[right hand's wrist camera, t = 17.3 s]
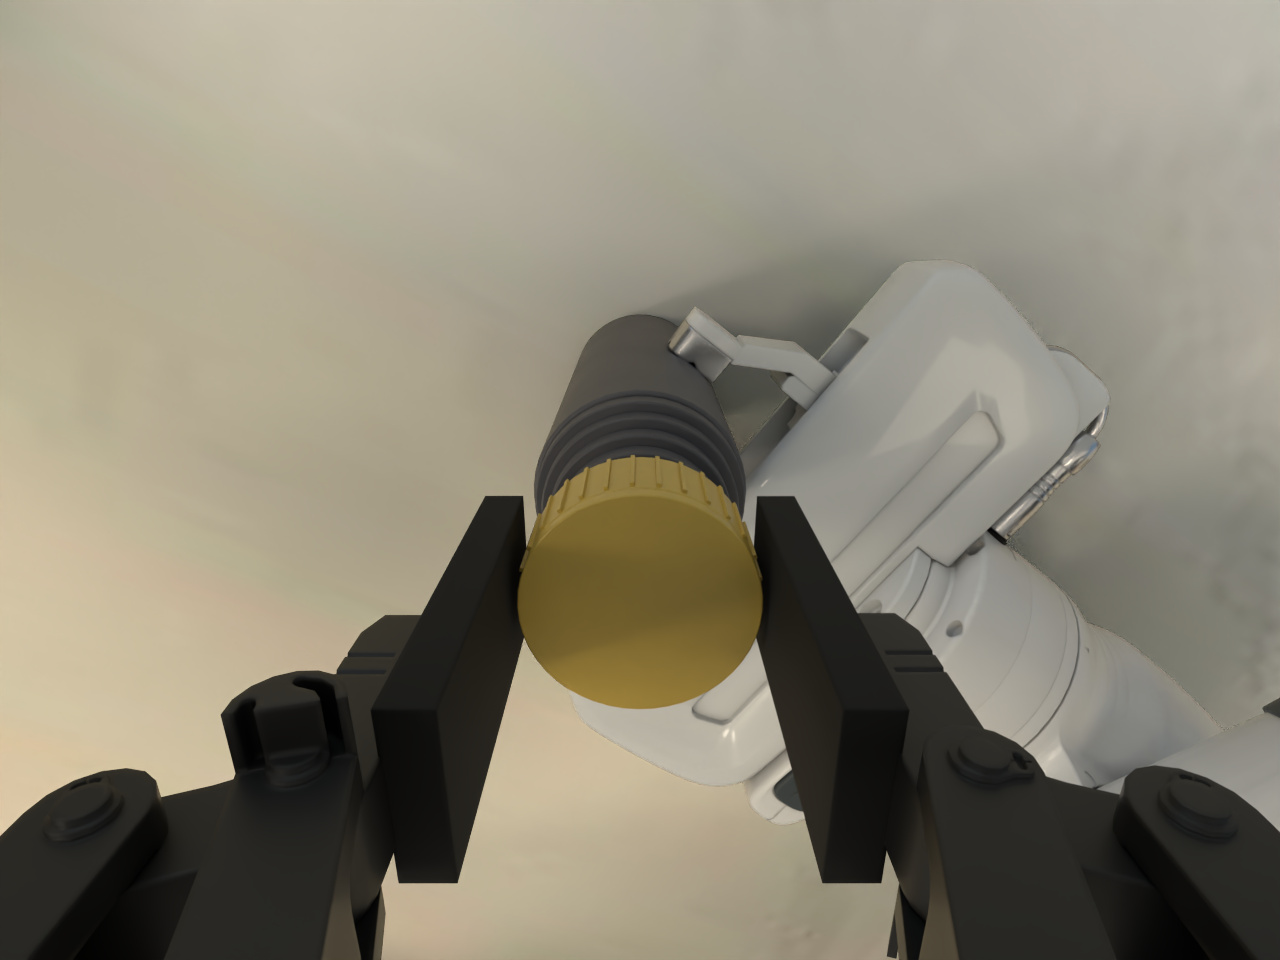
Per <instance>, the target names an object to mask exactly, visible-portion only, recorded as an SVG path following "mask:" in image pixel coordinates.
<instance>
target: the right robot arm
mask: <svg viewBox="0 0 1280 960" xmlns="http://www.w3.org/2000/svg"><path fill="white" fill-rule="evenodd" d="M754 549H755V552H756V555H757V559H756V560H757V563H758V566H759V569H760V572H761V575H762V579H763V581H761V583H762V591H763V613H762V619H761V624H760V627H759V631H758V634H757V637H756V639H757V643H758V647H759V650H760V654H761V658H762V661H763V665H764V669H765V672H766V676H767V680H768V683H769V687H770V691H771V695H772V698H773V702H774V706H775V709H776V713H777V717H778V720H779V724H780V728H781V732H782V735H783V739H784V743H785V746H786V750H787V754H788V757H789V761H790V765H791V768H792V772H793V776H794V780H795V783H796V787H797V791H798V794H799V798H800V802H801V805H802V809H803V813H804V817H805V820H806V824H807V828H808V831H809V835H810V839H811V842H812V846H813V850H814V853H815V857H816V861H817V865H818V868H819V872H820V876H821V879H822V883H881V881H882V875H883V869H884V863H885V857H886V851H887V852H888V855H889V857H890V860H891V863H892V865H893V868H894V870H895V873H896V876H897V878H898V881H899V888H898V893H897V899H896V905H895V910H894V916H893V922H892V927H891V933H890V939H889V945H888V952H887V957H892V958H896V957H897V952H898V953H899V960H1280V832H1279V831H1278V830H1277V829H1276V828H1275V827H1274V826H1273V825H1272V824H1271V823H1270V822H1269V821H1268V820H1267V819H1266V818H1265V817H1264V816H1263V815H1262V814H1261V813H1260V812H1259V811H1258V810H1257V809H1255V808H1254V807H1253V806H1252V805H1250V804H1249V803H1248V802H1247V801H1245V800H1244V799H1243V798H1241V797H1240V796H1239V795H1238V794H1236V793H1235V792H1233V791H1231V790H1230V789H1228V788H1226V787H1224V786H1222V785H1220V784H1218V783H1216V782H1214V781H1213V780H1211V779H1209V778H1207V777H1204V776H1201V775H1198V774H1195V773H1192V772H1189V771H1186V770H1183V769H1180V768H1172V767H1164V766H1156V765H1153V766H1147V767H1141V768H1136V769H1134V770H1133V771H1132V772H1131V773H1130V774H1129V775H1128V776H1126V777H1125V779H1124V783H1123V786H1122V789H1121V792H1120V794H1115V793H1111V792H1107V791H1102V790H1098V789H1093V788H1089V787H1085V786H1080V785H1076V784H1071V783H1067V782H1064V781H1060V780H1057V779H1054V778H1050V777H1047V776H1046V775H1045V773H1044V771H1043V770H1042V768H1041V767H1040V765H1039V764H1038V762H1037V761H1036V759H1035V758H1034V756H1032V755H1031V754H1030V753H1029V752H1028V751H1026V750H1025V749H1024V748H1023V747H1021V746H1020V745H1019V744H1018V743H1017V742H1015V741H1013V740H1011V739H1009V738H1007V737H1005V736H1003V735H1001V734H999V733H996V732H994V731H990V730H987V729H984V728H983V726H982V725H981V723H980V722H979V720H978V719H977V717H976V716H975V714H974V713H973V711H972V710H971V708H970V707H969V705H968V704H967V702H966V701H965V699H964V698H963V696H962V695H961V693H960V692H959V690H958V688H957V687H956V685H955V684H954V682H953V681H952V679H951V678H950V676H949V675H948V673H947V672H944V667H943V666H942V664H941V663H940V661H939V660H938V658H937V657H936V655H933V653H932V649H931V648H930V646H929V645H928V643H927V642H926V640H925V639H924V637H923V636H922V634H921V633H920V631H919V630H918V629H916V628H915V627H914V626H912V625H911V624H909V623H908V622H907V621H905V620H904V619H903V618H901V617H900V616H898V615H897V614H896V613H857V611H856V609H855V608H854V606H853V604H852V602H851V600H850V598H849V596H848V595H847V593H846V591H845V589H844V587H843V585H842V583H841V582H840V580H839V578H838V576H837V574H836V572H835V570H834V569H833V567H832V565H831V563H830V561H829V559H828V557H827V555H826V554H825V552H824V550H823V548H822V546H821V544H820V542H819V541H818V539H817V537H816V535H815V533H814V531H813V529H812V528H811V526H810V524H809V522H808V520H807V518H806V516H805V515H804V513H803V511H802V509H801V507H800V505H799V503H798V502H797V500H796V498H795V496H757V503H756V519H755V535H754ZM525 551H526V535H525V519H524V503H523V496H485V498H484V500H483V502H482V503H481V505H480V507H479V509H478V511H477V513H476V515H475V516H474V518H473V520H472V522H471V524H470V526H469V528H468V529H467V531H466V533H465V535H464V537H463V539H462V541H461V542H460V544H459V546H458V548H457V550H456V552H455V554H454V555H453V557H452V559H451V561H450V563H449V565H448V567H447V568H446V570H445V572H444V574H443V576H442V578H441V580H440V581H439V583H438V585H437V587H436V589H435V591H434V593H433V595H432V596H431V598H430V600H429V602H428V604H427V606H426V608H425V609H424V611H423V613H422V615H385V616H384V617H382V618H381V619H379V620H378V621H377V622H375V623H374V624H373V625H371V626H370V627H368V628H367V629H366V630H364V631H363V632H362V633H361V634H360V635H359V637H358V638H357V640H356V641H355V643H354V645H353V646H352V648H351V649H350V651H349V652H348V657H345V658H344V660H343V661H342V663H341V664H340V666H339V667H338V669H337V674H334V675H333V674H329V673H326V672H322V671H295V672H291V673H287V674H283V675H278V676H274V677H271V678H269V679H267V680H265V681H262V682H260V683H258V684H255V685H253V686H251V687H249V688H248V689H247V690H245V691H244V692H242V693H241V694H240V695H238V696H237V697H235V698H234V699H233V700H232V701H231V702H230V703H229V705H228V706H227V707H226V708H225V710H224V711H223V712H222V714H221V718H222V722H223V726H224V730H225V734H226V738H227V741H228V745H229V749H230V753H231V757H232V761H233V765H234V769H235V773H236V774H235V777H234V779H233V780H230V781H226V782H223V783H220V784H216V785H213V786H208V787H204V788H200V789H195V790H191V791H187V792H182V793H178V794H173V795H169V796H165V797H161V796H160V792H159V789H158V786H157V783H156V780H155V779H153V778H152V777H151V776H150V775H149V774H148V773H146V772H145V771H140V770H134V769H128V768H125V769H117V770H109V771H101V772H98V773H95V774H92V775H89V776H86V777H83V778H81V779H78V780H75V781H72V782H71V783H69V784H67V785H65V786H63V787H61V788H59V789H57V790H55V791H54V792H52V793H50V794H48V795H46V796H45V797H44V798H42V799H41V800H40V801H39V802H37V803H36V804H35V805H34V806H32V807H31V808H30V809H28V810H27V811H26V812H25V813H23V814H22V815H21V816H20V817H19V818H18V819H17V820H16V821H15V822H14V823H13V824H12V825H11V826H10V827H9V828H8V829H7V830H6V831H5V832H4V833H3V834H2V835H1V836H0V960H381V955H382V945H383V934H384V924H385V914H386V913H385V906H384V899H383V893H382V888H381V884H382V882H383V879H384V877H385V874H386V871H387V869H388V866H389V864H390V861H391V858H392V856H393V853H394V857H395V863H396V869H397V875H398V881H399V883H458V879H459V876H460V872H461V868H462V864H463V861H464V857H465V853H466V850H467V846H468V842H469V839H470V835H471V831H472V828H473V824H474V820H475V816H476V813H477V809H478V805H479V802H480V798H481V794H482V791H483V787H484V783H485V780H486V776H487V772H488V768H489V765H490V761H491V757H492V754H493V750H494V746H495V743H496V739H497V735H498V731H499V728H500V724H501V720H502V717H503V713H504V709H505V706H506V702H507V698H508V695H509V691H510V687H511V683H512V680H513V676H514V672H515V669H516V665H517V661H518V658H519V654H520V650H521V646H522V643H523V639H524V636H523V633H522V630H521V626H520V622H519V617H518V609H517V590H518V586H519V580H520V576H521V573H522V572H519V569H520V566H521V563H522V560H523V557H524V554H525Z"/></svg>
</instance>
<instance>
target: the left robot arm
mask: <svg viewBox="0 0 1280 960" xmlns="http://www.w3.org/2000/svg"><path fill="white" fill-rule="evenodd" d="M668 344H669V348H670V349H671V350H672V351H673V352H674V353H675V354H676V355H677V356H678V357H680V358H681V359H683V360H685V361H686V362H694V364H695V367H696V369H697V370H698V371H699V372H700V373H701V374H702V375H703V376H704V377H706V378H707V379H708V380H710V381H711V382H712V383H713V382H714V381H715V380H716V379H717V378H718V376H719V375H720V374H721V373H722V372H723V371H724V369H725V368H726V367H727V366H728V365H729V363H730V364H731V365H738V366H745V367H752V368H759V369H766V370H771V377H772V378H773V380H774V381H775V382H776V383H777V385H778V386H779V387H780V388H781V390H782V391H783V392H785V393H786V394H787V395H788V396H787V397H786V398H785V399H784V401H783V402H782V403H781V404H780V405H779V406H778V408H777V409H776V410H775V411H774V412H773V413H772V415H771V416H770V417H769V418H768V419H767V420H766V422H765V423H764V424H763V425H762V426H761V427H760V429H759V430H758V431H757V432H756V433H755V434H754V436H753V437H752V438H751V439H750V440H749V441H748V443H747V444H746V445H745V446H744V447H743V448H742V450H741V451H740V452H739V454H740V457H741V460H742V463H743V467H744V472H745V477H746V499H745V507H744V514H743V519H742V522H744V521H745V522H746V525H747V528H748V531H749V534H750V537H751V540H752V543H753V546H754V535H755V519H756V503H757V496H795V498H796V500H797V502H798V503H799V505H800V507H801V509H802V511H803V513H804V515H805V516H806V518H807V520H808V522H809V524H810V526H811V528H812V529H813V531H814V533H815V535H816V537H817V539H818V541H819V542H820V544H821V546H822V548H823V550H824V552H825V554H826V555H827V557H828V559H829V561H830V563H831V565H832V567H833V569H834V570H835V572H836V574H837V576H838V578H839V580H840V582H841V583H842V585H843V587H844V589H845V591H846V593H847V595H848V596H849V598H850V600H851V602H852V604H853V606H854V608H855V609H856V611H857V613H896V614H897V615H898V616H900V617H901V618H903V619H904V620H905V621H907V622H908V623H909V624H911V625H912V626H914V627H915V628H916V629H918V630H919V631H920V633H921V634H922V636H923V637H924V639H925V640H926V642H927V643H928V645H929V646H930V648H931V649H932V653H933V655H936V657H937V658H938V660H939V661H940V663H941V664H942V666H943V667H944V672H947V673H948V675H949V676H950V678H951V679H952V681H953V682H954V684H955V685H956V687H957V688H958V690H959V692H960V693H961V695H962V696H963V698H964V699H965V701H966V702H967V704H968V705H969V707H970V708H971V710H972V711H973V713H974V714H975V716H976V717H977V719H978V720H979V722H980V723H981V725H982V726H983V728H984V729H987V730H990V731H994V732H996V733H999V734H1001V735H1003V736H1005V737H1007V738H1009V739H1011V740H1013V741H1015V742H1017V743H1018V744H1019V745H1020V746H1021V747H1023V748H1024V749H1025V750H1026V751H1028V752H1029V753H1030V754H1031V755H1032V756H1034V758H1035V759H1036V761H1037V762H1038V764H1039V765H1040V767H1041V768H1042V770H1043V771H1044V773H1045V775H1046V776H1047V777H1050V778H1054V779H1057V780H1060V781H1064V782H1067V783H1071V784H1076V785H1080V786H1085V787H1089V788H1093V789H1098V790H1102V791H1107V792H1111V793H1115V794H1120V792H1121V789H1122V786H1123V783H1124V779H1125V777H1126V776H1128V775H1129V774H1130V773H1131V772H1132V771H1133V770H1134V769H1136V768H1141V767H1147V766H1153V765H1156V766H1164V767H1172V768H1180V769H1183V770H1186V771H1189V772H1192V773H1195V774H1198V775H1201V776H1204V777H1207V778H1209V779H1211V780H1213V781H1214V782H1216V783H1218V784H1220V785H1222V786H1224V787H1226V788H1228V789H1230V790H1231V791H1233V792H1235V793H1236V794H1238V795H1239V796H1240V797H1241V798H1243V799H1244V800H1245V801H1247V802H1248V803H1249V804H1250V805H1252V806H1253V807H1254V808H1255V809H1257V810H1258V811H1259V812H1260V813H1261V814H1262V815H1263V816H1264V817H1265V818H1266V819H1267V820H1268V821H1269V822H1270V823H1271V824H1272V825H1273V826H1274V827H1275V828H1276V829H1277V830H1278V831H1279V832H1280V698H1278V699H1277V700H1275V701H1273V702H1271V703H1270V704H1268V705H1266V706H1264V707H1263V710H1264V712H1265V713H1263V714H1261V715H1259V716H1257V717H1254V718H1252V719H1250V720H1248V721H1245V722H1243V723H1241V724H1239V725H1237V726H1234V727H1232V728H1230V729H1228V730H1226V731H1223V729H1222V728H1221V727H1220V726H1219V725H1218V724H1217V723H1216V722H1215V721H1214V720H1213V718H1212V717H1211V716H1210V715H1209V714H1208V713H1207V712H1206V711H1205V710H1204V709H1203V708H1202V707H1201V706H1200V705H1199V704H1198V703H1197V702H1196V701H1195V700H1194V699H1193V698H1192V697H1191V696H1190V695H1189V694H1188V693H1187V692H1186V691H1185V690H1184V689H1183V688H1182V687H1181V686H1180V685H1179V684H1178V683H1176V682H1175V681H1174V680H1173V679H1172V678H1171V677H1170V676H1169V675H1167V674H1166V673H1165V672H1164V671H1163V670H1162V669H1161V668H1160V667H1158V666H1157V665H1156V664H1155V663H1154V662H1152V661H1151V660H1150V659H1149V658H1148V657H1146V656H1145V655H1144V654H1143V653H1141V652H1140V651H1139V650H1138V649H1137V648H1135V647H1134V646H1133V645H1131V644H1130V643H1128V642H1127V641H1126V640H1124V639H1123V638H1121V637H1119V636H1118V635H1116V634H1114V633H1112V632H1110V631H1108V630H1105V629H1103V628H1101V627H1098V626H1095V625H1092V624H1089V623H1087V622H1086V621H1085V619H1084V617H1083V616H1082V614H1081V612H1080V611H1079V609H1078V608H1077V606H1076V605H1075V603H1074V602H1073V601H1072V600H1071V598H1070V597H1069V596H1068V595H1067V594H1066V593H1065V592H1064V591H1063V590H1062V589H1061V588H1060V587H1059V586H1057V585H1056V584H1055V583H1054V582H1053V581H1051V580H1050V579H1049V578H1048V577H1046V576H1045V575H1044V574H1043V573H1041V572H1040V571H1039V570H1038V569H1036V568H1035V567H1034V566H1033V565H1031V564H1030V563H1029V562H1028V561H1026V560H1025V559H1024V558H1023V557H1021V556H1020V555H1019V554H1018V553H1016V552H1015V551H1014V550H1013V549H1011V548H1010V547H1009V546H1008V545H1006V544H1007V543H1006V541H1007V540H1008V539H1009V538H1010V537H1011V536H1012V535H1013V534H1014V533H1015V532H1016V531H1017V530H1018V529H1019V528H1021V527H1022V526H1023V525H1024V524H1025V523H1026V522H1027V521H1028V520H1029V519H1030V518H1031V517H1032V516H1033V515H1034V514H1035V513H1036V512H1037V511H1038V510H1039V509H1040V508H1041V507H1042V506H1043V504H1044V502H1046V501H1047V499H1048V498H1049V496H1051V494H1052V493H1053V492H1054V489H1057V488H1058V487H1059V486H1060V483H1063V482H1064V481H1065V480H1066V479H1067V478H1068V477H1069V476H1071V475H1075V474H1076V473H1077V472H1079V471H1080V470H1081V469H1082V468H1083V467H1084V466H1085V465H1086V464H1087V463H1088V462H1089V461H1090V460H1091V459H1092V458H1093V456H1094V455H1095V454H1096V452H1097V451H1098V449H1099V448H1100V443H1099V442H1098V441H1097V440H1096V437H1097V436H1098V434H1099V433H1100V431H1101V430H1102V428H1103V426H1104V424H1105V421H1106V418H1107V415H1108V409H1109V402H1110V395H1109V392H1108V390H1107V388H1106V386H1105V385H1104V384H1103V382H1102V381H1101V379H1100V378H1099V377H1098V376H1097V375H1096V374H1095V373H1094V372H1093V371H1091V370H1090V369H1089V368H1088V367H1087V366H1086V365H1085V364H1084V363H1083V362H1082V361H1081V360H1079V359H1078V358H1077V357H1076V356H1075V355H1074V354H1073V353H1071V352H1070V351H1068V350H1066V349H1063V348H1061V347H1058V346H1052V345H1045V344H1044V343H1043V341H1042V340H1041V339H1040V338H1039V336H1038V335H1037V334H1036V332H1035V331H1034V330H1033V329H1032V327H1031V326H1030V325H1029V324H1028V322H1027V321H1026V320H1025V319H1024V318H1023V317H1022V315H1021V314H1020V313H1019V312H1018V311H1017V310H1016V309H1015V307H1014V306H1013V305H1012V304H1011V303H1010V302H1009V301H1008V300H1007V298H1006V297H1005V296H1004V295H1003V294H1002V293H1001V292H1000V291H999V290H998V289H997V288H996V287H995V286H994V285H993V284H992V283H991V282H990V281H989V280H988V279H987V278H986V277H985V276H983V275H982V274H981V273H980V272H978V271H977V270H975V269H973V268H971V267H969V266H967V265H964V264H962V263H958V262H954V261H949V260H923V261H913V262H907V263H904V264H902V265H901V266H899V267H898V268H897V269H896V270H895V271H894V272H893V273H892V274H891V276H890V277H889V278H888V279H887V280H886V281H885V283H884V284H883V285H882V286H881V287H880V289H879V290H878V291H877V292H876V293H875V294H874V296H873V297H872V298H871V299H870V300H869V301H868V303H867V304H866V305H865V306H864V307H863V308H862V310H861V311H860V312H859V313H858V314H857V315H856V317H855V318H854V319H853V320H852V321H851V322H850V324H849V325H848V326H847V327H846V328H845V329H844V331H843V332H842V333H841V334H840V335H839V336H838V338H837V339H836V340H835V341H834V342H833V343H832V345H831V346H830V347H829V348H828V349H827V350H826V352H825V353H824V354H823V355H822V356H821V357H820V359H819V360H816V359H815V358H814V357H813V356H811V355H810V354H809V353H808V352H806V351H805V350H804V349H803V348H801V347H800V346H799V345H798V344H796V343H795V342H792V341H784V340H776V339H768V338H760V337H752V336H743V335H738V336H737V337H734V336H733V335H732V334H731V333H729V332H728V331H727V330H725V329H724V328H723V327H722V326H720V325H719V324H718V323H717V322H715V321H714V320H713V319H712V318H710V317H709V316H708V315H707V314H705V313H704V312H703V311H701V310H700V309H698V308H697V307H694V308H693V309H692V311H691V312H690V313H689V315H688V316H687V317H686V319H685V320H684V321H683V322H682V324H681V325H680V326H679V328H678V329H677V330H676V332H675V333H674V334H673V336H672V337H671V338H670V340H669V341H668ZM1087 426H1088V427H1087ZM1086 427H1087V429H1086V430H1085V431H1083V430H1084V429H1085V428H1086ZM568 690H569V689H568ZM569 695H570V698H571V701H572V703H573V706H574V708H575V711H576V713H577V715H578V717H579V718H580V719H581V720H582V721H583V722H584V723H585V724H586V725H587V726H588V727H590V728H591V729H593V730H594V731H596V732H597V733H599V734H600V735H602V736H603V737H605V738H607V739H608V740H610V741H612V742H613V743H615V744H617V745H618V746H620V747H622V748H624V749H625V750H627V751H629V752H631V753H633V754H634V755H636V756H638V757H640V758H642V759H644V760H646V761H648V762H649V763H651V764H653V765H655V766H657V767H659V768H661V769H663V770H665V771H668V772H670V773H672V774H674V775H676V776H678V777H681V778H683V779H685V780H688V781H691V782H694V783H697V784H701V785H706V786H716V787H720V786H730V785H734V784H738V783H741V782H742V783H743V786H744V789H745V792H746V795H747V798H748V801H749V804H750V806H751V808H752V809H753V810H754V811H755V812H756V813H757V814H758V815H760V816H761V817H763V818H764V819H766V820H767V821H769V822H772V823H774V824H777V825H791V824H794V823H797V822H800V821H802V820H804V819H805V817H804V813H803V809H802V805H801V802H800V798H799V794H798V791H797V787H796V783H795V780H794V776H793V772H792V768H791V765H790V761H789V757H788V754H787V750H786V746H785V743H784V739H783V735H782V732H781V728H780V724H779V720H778V717H777V713H776V709H775V706H774V702H773V698H772V695H771V691H770V687H769V683H768V680H767V676H766V672H765V669H764V665H763V661H762V658H761V654H760V650H759V647H758V643H757V639H755V641H754V643H753V645H752V647H751V649H750V651H749V652H748V654H747V655H746V657H745V658H744V660H743V661H742V663H741V664H740V665H739V666H738V667H737V668H736V670H735V671H734V672H733V673H732V674H731V675H730V676H728V677H727V678H726V679H725V680H724V681H723V682H721V683H720V684H719V685H717V686H716V687H714V688H713V689H711V690H710V691H708V692H706V693H704V694H702V695H700V696H698V697H696V698H694V699H691V700H689V701H686V702H683V703H680V704H676V705H672V706H668V707H662V708H655V709H626V708H618V707H613V706H608V705H604V704H601V703H597V702H594V701H592V700H589V699H587V698H584V697H582V696H580V695H578V694H576V693H574V692H573V691H571V690H569Z"/></svg>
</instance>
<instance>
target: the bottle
mask: <svg viewBox="0 0 1280 960" xmlns="http://www.w3.org/2000/svg"><path fill="white" fill-rule="evenodd" d="M677 329H678V327H677V326H675V325H674V324H672V323H671V322H669V321H666V320H664V319H662V318H658V317H655V316H649V315H631V316H626V317H622V318H619V319H616V320H614V321H612V322H610V323H608V324H606V325H605V326H603V327H602V328H601V329H599V330H598V331H597V332H596V333H595V334H594V335H593V336H592V337H591V338H590V340H589V341H588V342H587V344H586V346H585V347H584V349H583V351H582V354H581V356H580V358H579V361H578V363H577V366H576V368H575V371H574V373H573V376H572V378H571V381H570V383H569V386H568V388H567V391H566V393H565V396H564V398H563V401H562V403H561V405H560V408H559V410H558V413H557V415H556V418H555V420H554V423H553V425H552V428H551V430H550V433H549V435H548V438H547V440H546V443H545V445H544V447H543V450H542V452H541V455H540V457H539V460H538V464H537V468H536V472H535V481H534V498H535V505H536V512H537V516H538V514H539V513H540V514H542V513H543V511H544V509H545V507H546V505H547V502H548V499H549V497H550V495H552V496H554V495H555V494H556V493H557V492H558V491H559V490H560V489H561V488H562V487H563V486H564V482H565V481H566V480H567V479H568V480H569V481H570V480H571V479H572V478H574V477H575V476H577V475H579V474H580V473H582V472H584V468H586V467H589V469H590V468H592V467H594V466H596V465H599V464H602V463H605V462H607V459H611V461H612V460H617V459H623V458H631V455H635V457H648V458H651V457H652V458H655V456H659V457H660V459H663V460H668V461H672V462H675V463H679V461H680V462H683V465H684V466H687V467H689V468H691V469H693V470H695V471H697V472H699V473H700V472H701V471H702V472H703V473H704V474H705V477H706V478H708V479H709V480H711V481H712V482H713V483H714V484H715V485H716V486H717V487H718V486H719V485H720V486H721V487H722V488H723V491H724V494H725V495H726V496H727V497H728V498H729V499H730V501H731V502H732V503H734V502H735V503H736V505H737V508H738V511H739V514H740V517H741V520H742V519H743V514H744V507H745V499H746V477H745V472H744V467H743V463H742V460H741V457H740V454H739V451H738V449H737V446H736V444H735V441H734V439H733V437H732V434H731V432H730V429H729V427H728V424H727V422H726V419H725V417H724V414H723V412H722V409H721V407H720V405H719V402H718V400H717V397H716V395H715V392H714V390H713V387H712V385H711V382H710V380H708V379H707V378H706V377H704V376H703V375H702V374H701V373H700V372H699V371H698V370H697V369H696V367H695V364H694V362H686V361H685V360H683V359H681V358H680V357H678V356H677V355H676V354H675V353H674V352H673V351H672V350H671V349H670V348H669V344H668V341H669V340H670V338H671V337H672V336H673V334H674V333H675V332H676V330H677Z"/></svg>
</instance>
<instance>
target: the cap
mask: <svg viewBox="0 0 1280 960" xmlns="http://www.w3.org/2000/svg"><path fill="white" fill-rule="evenodd" d="M756 559H757V555H756V552H755V549H754V546H753V543H752V540H751V537H750V534H749V531H748V528H747V525H746V522H745V521H744V522H742V520H741V517H740V514H739V511H738V508H737V505H736V503H735V502H734V503H732V502H731V501H730V499H729V498H728V497H727V496H726V495H725V494H724V491H723V488H722V487H721V486H720V485H719V486H718V487H717V486H716V485H715V484H714V483H713V482H712V481H711V480H709V479H708V478H706V477H705V474H704V473H703V472H702V471H701V472H700V473H699V472H697V471H695V470H693V469H691V468H689V467H687V466H684V465H683V462H680V461H679V463H675V462H672V461H668V460H663V459H660V457H659V456H655V458H652V457H651V458H648V457H635V455H631V458H623V459H617V460H612V461H611V459H607V462H605V463H602V464H599V465H596V466H594V467H592V468H590V469H589V467H586V468H584V472H582V473H580V474H579V475H577V476H575V477H574V478H572V479H571V480H570V481H569V480H568V479H567V480H566V481H565V482H564V486H563V487H562V488H561V489H560V490H559V491H558V492H557V493H556V494H555V495H554V496H552V495H550V497H549V499H548V502H547V505H546V507H545V509H544V511H543V513H542V514H540V513H539V514H538V516H537V519H536V522H535V525H534V528H533V531H532V533H531V536H530V539H529V542H528V545H527V548H526V551H525V554H524V557H523V560H522V563H521V566H520V569H519V572H522V573H521V576H520V580H519V586H518V590H517V609H518V617H519V622H520V626H521V630H522V633H523V636H524V638H525V640H526V642H527V645H528V647H529V648H530V650H531V652H532V653H533V655H534V657H535V658H536V660H537V661H538V662H539V663H540V664H541V666H542V667H543V668H544V669H545V670H546V671H547V672H548V673H549V674H550V675H551V676H552V677H553V678H554V679H555V680H556V681H558V682H559V683H560V684H562V685H563V686H565V687H566V688H567V689H569V690H571V691H573V692H574V693H576V694H578V695H580V696H582V697H584V698H587V699H589V700H592V701H594V702H597V703H601V704H604V705H608V706H613V707H618V708H626V709H655V708H662V707H668V706H672V705H676V704H680V703H683V702H686V701H689V700H691V699H694V698H696V697H698V696H700V695H702V694H704V693H706V692H708V691H710V690H711V689H713V688H714V687H716V686H717V685H719V684H720V683H721V682H723V681H724V680H725V679H726V678H727V677H728V676H730V675H731V674H732V673H733V672H734V671H735V670H736V668H737V667H738V666H739V665H740V664H741V663H742V661H743V660H744V658H745V657H746V655H747V654H748V652H749V651H750V649H751V647H752V645H753V643H754V641H755V639H756V637H757V634H758V631H759V627H760V624H761V619H762V613H763V591H762V583H761V581H763V579H762V575H761V572H760V569H759V566H758V563H757V560H756Z"/></svg>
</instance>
